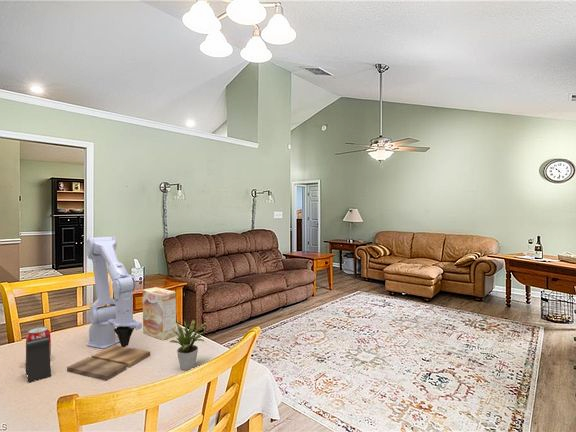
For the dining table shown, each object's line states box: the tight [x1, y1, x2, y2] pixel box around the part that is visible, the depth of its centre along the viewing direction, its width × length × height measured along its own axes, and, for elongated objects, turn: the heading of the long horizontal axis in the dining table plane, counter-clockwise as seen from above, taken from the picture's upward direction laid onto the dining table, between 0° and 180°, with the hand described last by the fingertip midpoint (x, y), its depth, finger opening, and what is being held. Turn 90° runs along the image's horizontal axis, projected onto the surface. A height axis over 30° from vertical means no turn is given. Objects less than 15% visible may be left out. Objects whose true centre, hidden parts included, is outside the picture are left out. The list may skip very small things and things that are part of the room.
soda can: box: [25, 326, 52, 358], centre depth 118 cm, size 7×7×12 cm
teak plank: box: [90, 344, 151, 368], centre depth 122 cm, size 18×10×2 cm, turn 70°
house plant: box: [169, 319, 209, 371], centre depth 113 cm, size 14×14×16 cm
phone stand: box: [25, 337, 52, 383], centre depth 109 cm, size 9×6×12 cm, turn 43°
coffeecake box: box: [142, 286, 177, 341], centre depth 144 cm, size 15×7×20 cm, turn 55°
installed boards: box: [66, 356, 127, 381], centre depth 112 cm, size 18×8×2 cm, turn 70°
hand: (124, 345), depth 121 cm, fingers closed
